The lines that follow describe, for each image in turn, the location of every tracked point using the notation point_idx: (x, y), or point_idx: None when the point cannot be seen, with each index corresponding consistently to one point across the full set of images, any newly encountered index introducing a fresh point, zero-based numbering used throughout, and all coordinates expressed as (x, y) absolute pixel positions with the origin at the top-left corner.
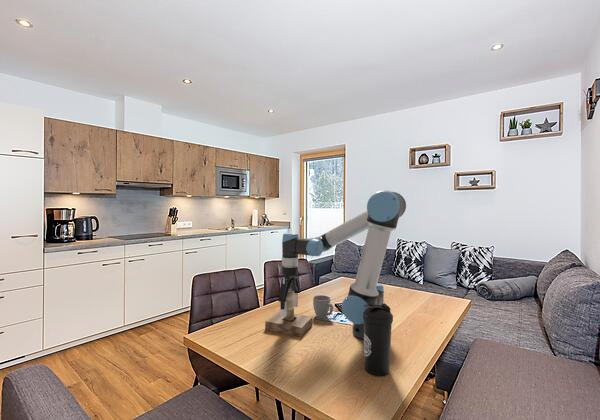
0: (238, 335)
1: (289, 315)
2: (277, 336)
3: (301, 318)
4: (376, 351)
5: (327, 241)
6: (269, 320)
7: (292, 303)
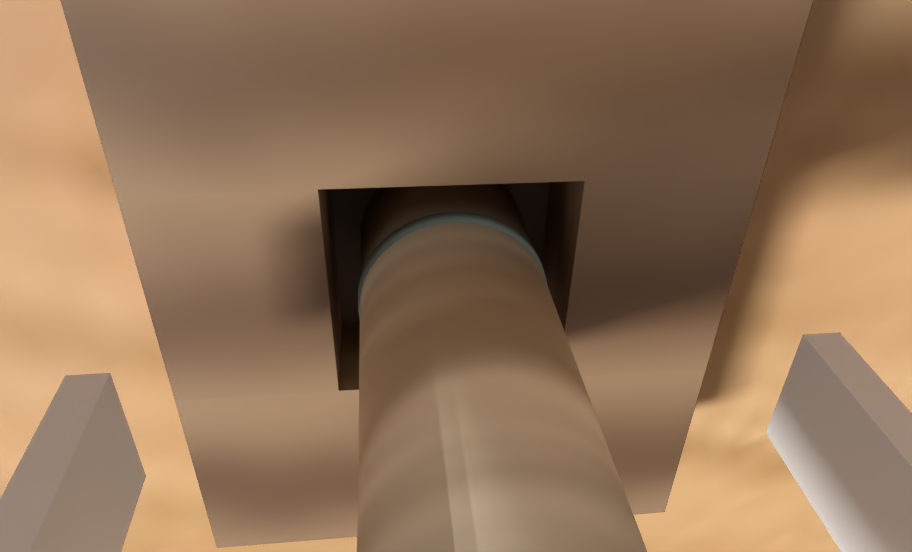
0: (812, 532)
1: (557, 322)
2: (789, 222)
3: (313, 90)
4: None
5: None
6: (626, 487)
7: (587, 516)
